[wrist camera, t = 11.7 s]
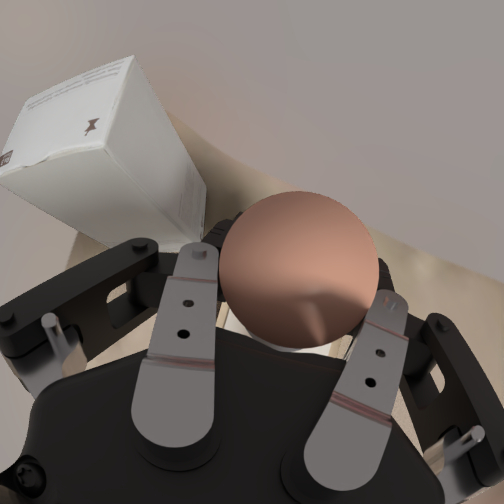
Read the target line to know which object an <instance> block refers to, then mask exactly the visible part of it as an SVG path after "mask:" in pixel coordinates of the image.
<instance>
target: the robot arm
mask: <svg viewBox="0 0 504 504" xmlns="http://www.w3.org/2000/svg"><path fill="white" fill-rule="evenodd" d="M243 213H244V212H239V214H238V215H237V216H236V217H235V218H234V220H228V219H226V220H223V221H220V222H218V223H217V224H216V225H215V226H214V228H212V230H211V231H210V233H208V234H207V235H206V236H205V237H204V238H203V239H202V240H201V242H192V243H188V244H185V245H184V246H182V247H181V249H180V251H179V253H162V252H159V245H158V243H157V242H156V241H154V240H153V239H150V238H143V237H139V238H133V239H130V240H127V241H125V242H123V243H121V244H119V245H117V246H115V247H113V248H110V249H108V250H106V251H104V252H102V253H100V254H98V255H96V256H94V257H92V258H90V259H88V260H86V261H84V262H82V263H80V264H78V265H76V266H74V267H72V268H70V269H68V270H66V271H64V272H62V273H60V274H58V275H57V276H55V277H53V278H51V279H49V280H47V281H46V282H43V283H42V284H40V285H38V286H36V287H34V288H32V289H31V290H29V291H27V292H25V293H23V294H22V295H20V296H18V297H16V298H15V299H13V300H11V301H9V302H8V303H6V304H5V305H2V306H1V307H0V352H1V354H2V356H3V357H4V359H5V360H6V362H7V364H8V365H9V367H10V368H11V370H12V372H13V373H14V375H15V376H16V377H18V379H19V380H20V382H21V383H22V385H23V386H24V388H25V389H26V390H27V391H28V392H29V393H31V394H32V396H33V397H34V399H35V401H34V403H33V406H32V409H31V413H30V419H29V427H28V432H27V437H26V441H25V445H24V447H23V450H22V453H21V455H20V457H19V458H18V460H17V461H16V462H15V463H14V464H13V465H12V466H10V467H9V468H8V469H6V470H5V471H3V472H2V473H0V504H461V503H463V502H464V501H467V500H469V499H471V498H472V497H475V496H476V495H478V494H480V493H482V492H484V491H486V490H487V489H489V488H491V487H493V486H494V485H496V484H498V483H499V482H501V481H503V480H504V408H503V406H502V404H501V402H500V400H499V398H498V397H497V395H496V393H495V391H494V389H493V387H492V385H491V383H490V382H489V380H488V378H487V376H486V374H485V373H484V371H483V369H482V367H481V366H480V364H479V362H478V361H477V359H476V357H475V356H474V354H473V352H472V351H471V349H470V348H469V346H468V344H467V343H466V341H465V340H464V338H463V337H462V335H461V334H460V332H459V330H458V329H457V327H456V326H455V325H454V323H453V322H452V321H451V320H450V319H449V318H447V317H446V316H444V315H442V314H439V313H431V314H429V315H428V317H427V318H426V320H425V321H423V320H421V319H419V318H417V317H415V316H413V315H411V314H409V313H408V304H407V302H406V300H405V299H404V298H403V297H402V296H400V295H399V294H397V293H395V290H394V286H393V283H392V279H391V276H390V274H389V269H388V266H387V265H386V263H385V262H384V261H383V260H382V259H381V258H378V263H379V280H378V287H377V291H376V294H375V297H374V300H373V302H372V304H371V307H370V308H369V309H368V312H367V313H366V315H365V316H364V318H363V319H362V320H361V321H360V323H359V324H358V325H357V326H356V327H355V328H353V329H352V330H351V331H350V332H349V333H347V334H346V335H351V336H353V339H352V341H351V343H350V345H349V346H348V349H347V351H346V353H345V355H344V357H343V359H338V358H334V357H329V356H325V355H320V354H316V353H299V352H281V351H277V350H275V349H273V348H271V347H269V346H267V345H265V344H263V343H261V342H259V341H257V340H255V339H253V338H251V337H249V336H247V335H243V334H240V333H236V332H233V331H230V330H226V329H223V328H220V327H216V305H217V300H218V301H221V302H224V303H225V302H226V300H225V297H224V295H223V292H222V288H221V284H220V277H219V261H220V254H221V250H222V246H223V243H224V241H225V238H226V236H227V234H228V232H229V230H230V229H231V227H232V225H233V224H234V223H235V221H236V220H237V219H238V218H239V217H240V216H241V215H242V214H243ZM125 282H126V289H127V292H125V293H124V294H122V295H120V296H119V297H117V298H115V299H114V300H112V301H111V302H109V303H107V297H108V295H109V293H110V292H111V291H112V290H113V289H115V288H116V287H118V286H120V285H122V284H123V283H125ZM157 312H158V313H157ZM156 313H157V317H156V320H155V324H154V328H153V332H152V336H151V340H150V344H149V348H148V349H145V350H143V351H140V352H137V353H135V354H132V355H129V356H126V357H124V358H121V359H118V360H115V361H112V362H109V363H107V364H104V365H101V366H98V367H95V368H92V369H89V370H86V371H85V369H86V366H87V363H88V362H89V361H90V360H92V359H93V358H95V357H96V356H97V355H99V354H100V353H101V352H103V351H104V350H106V349H107V348H108V347H110V346H111V345H113V344H114V343H115V342H117V341H118V340H119V339H121V338H122V337H124V336H125V335H126V334H128V333H129V332H131V331H132V330H133V329H135V328H136V327H137V326H139V325H140V324H142V323H143V322H144V321H146V320H147V319H149V318H150V317H151V316H153V315H154V314H156ZM436 364H438V366H439V368H440V370H441V372H442V374H443V376H444V378H445V386H444V389H443V391H442V392H441V393H439V391H438V389H437V387H436V385H435V382H434V380H433V378H432V376H431V374H430V372H431V370H432V369H433V368H434V367H435V365H436ZM398 387H399V388H400V391H401V394H402V396H403V399H404V401H405V404H406V407H407V409H408V412H409V415H410V417H411V420H412V423H413V426H414V429H415V431H416V434H417V437H418V440H419V443H420V446H421V449H422V452H423V457H422V456H421V455H420V453H419V452H418V450H417V449H416V448H415V446H414V445H413V444H412V442H411V441H410V440H409V438H408V437H407V436H406V434H405V433H404V432H403V430H402V429H401V428H400V426H399V425H398V424H397V422H396V421H395V420H394V418H393V417H392V416H391V413H392V409H393V406H394V402H395V399H396V395H397V391H398Z"/></svg>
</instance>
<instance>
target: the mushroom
mask: <svg viewBox="0 0 504 504" xmlns="http://www.w3.org/2000/svg"><path fill="white" fill-rule="evenodd" d="M219 277H220V284H221V288H222V292H223V295H224V297H225V300H226V302H227V304H228V306H229V308H230V309H231V311H232V313H233V314H234V315H235V317H236V318H237V319H238V321H239V322H240V323H241V324H242V325H243V326H244V327H245V328H246V329H247V330H249V331H250V332H251V333H253V334H254V335H256V336H257V337H259V338H261V339H263V340H265V341H266V342H269V343H272V344H274V345H277V346H281V347H286V348H294V349H306V348H314V347H319V346H323V345H326V344H329V343H332V342H334V341H336V340H338V339H340V338H341V337H343V336H344V335H346V334H347V333H349V332H350V331H351V330H352V329H353V328H355V327H356V326H357V325H358V324H359V323H360V321H361V320H362V319H363V318H364V316H365V315H366V313H367V312H368V309H369V308H370V307H371V304H372V302H373V300H374V297H375V294H376V291H377V287H378V280H379V263H378V256H377V252H376V248H375V245H374V243H373V240H372V238H371V236H370V234H369V232H368V230H367V229H366V227H365V226H364V225H363V223H362V222H361V220H360V219H359V218H358V217H357V216H356V215H355V214H354V213H353V212H351V211H350V210H349V209H348V208H347V207H345V206H344V205H342V204H341V203H339V202H337V201H335V200H333V199H331V198H329V197H326V196H323V195H320V194H316V193H311V192H302V191H296V192H285V193H280V194H276V195H272V196H270V197H267V198H265V199H262V200H261V201H259V202H257V203H255V204H254V205H252V206H251V207H250V208H248V209H247V210H246V211H245V212H244V213H243V214H242V215H241V216H240V217H239V218H238V219H237V220H236V221H235V223H234V224H233V225H232V227H231V229H230V230H229V232H228V234H227V236H226V238H225V241H224V243H223V246H222V250H221V254H220V261H219Z"/></svg>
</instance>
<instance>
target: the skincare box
mask: <svg viewBox="0 0 504 504" xmlns="http://www.w3.org/2000/svg"><path fill="white" fill-rule="evenodd" d="M0 185H2V186H4V187H5V188H7V189H8V190H10V191H11V192H13V193H14V194H16V195H18V196H19V197H21V198H22V199H24V200H26V201H28V202H29V203H31V204H33V205H34V206H36V207H38V208H39V209H41V210H43V211H44V212H46V213H48V214H50V215H51V216H53V217H55V218H57V219H59V220H60V221H62V222H64V223H65V224H67V225H69V226H71V227H72V228H74V229H76V230H78V231H80V232H81V233H83V234H85V235H87V236H89V237H91V238H92V239H94V240H96V241H98V242H100V243H102V244H104V245H105V246H107V247H109V248H113V247H115V246H117V245H119V244H121V243H123V242H125V241H127V240H130V239H133V238H139V237H143V238H150V239H153V240H154V241H156V242H157V243H158V245H159V252H178V251H180V249H181V247H182V246H184V245H185V244H188V243H192V242H201V240H202V239H203V232H204V217H205V204H206V191H207V187H206V185H205V183H204V181H203V180H202V178H201V176H200V174H199V172H198V170H197V168H196V167H195V165H194V163H193V161H192V160H191V158H190V156H189V154H188V152H187V151H186V149H185V147H184V145H183V143H182V141H181V140H180V138H179V136H178V134H177V132H176V130H175V128H174V127H173V125H172V123H171V121H170V119H169V118H168V116H167V114H166V112H165V110H164V109H163V107H162V105H161V103H160V101H159V99H158V98H157V96H156V94H155V92H154V90H153V88H152V87H151V85H150V83H149V81H148V79H147V77H146V76H145V74H144V72H143V70H142V68H141V66H140V65H139V63H138V61H137V59H136V57H135V55H131V56H128V57H125V58H122V59H119V60H116V61H113V62H110V63H107V64H105V65H102V66H99V67H97V68H94V69H92V70H89V71H87V72H84V73H82V74H80V75H77V76H75V77H73V78H70V79H68V80H66V81H64V82H61V83H59V84H57V85H55V86H53V87H51V88H48V89H47V90H44V91H42V92H40V93H38V94H36V95H34V96H32V97H30V98H28V99H27V101H26V103H25V104H24V106H23V108H22V110H21V112H20V114H19V116H18V118H17V120H16V122H15V124H14V126H13V129H12V131H11V133H10V135H9V137H8V140H7V142H6V144H5V147H4V149H3V152H2V154H1V157H0Z"/></svg>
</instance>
